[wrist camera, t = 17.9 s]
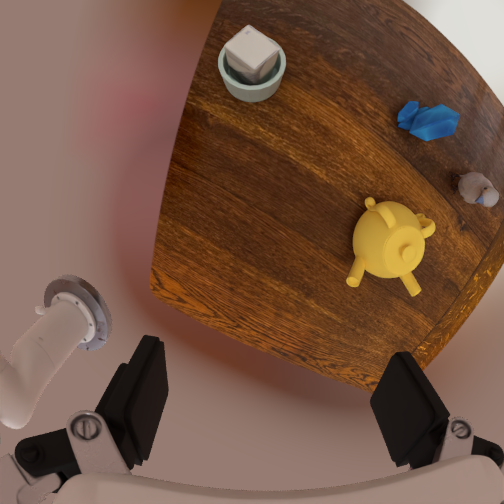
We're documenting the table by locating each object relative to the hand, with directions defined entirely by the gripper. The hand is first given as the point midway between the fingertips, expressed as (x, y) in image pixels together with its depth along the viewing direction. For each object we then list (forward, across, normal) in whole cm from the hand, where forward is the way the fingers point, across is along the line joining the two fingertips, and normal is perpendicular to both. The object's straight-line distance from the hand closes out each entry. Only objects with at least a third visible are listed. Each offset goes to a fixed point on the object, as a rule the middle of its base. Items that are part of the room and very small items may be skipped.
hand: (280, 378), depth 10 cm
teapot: (+36, -21, +2) cm, 42 cm away
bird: (+36, -36, -12) cm, 52 cm away
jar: (+36, +4, -22) cm, 42 cm away
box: (+35, +4, -22) cm, 42 cm away
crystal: (+36, -25, -20) cm, 49 cm away
